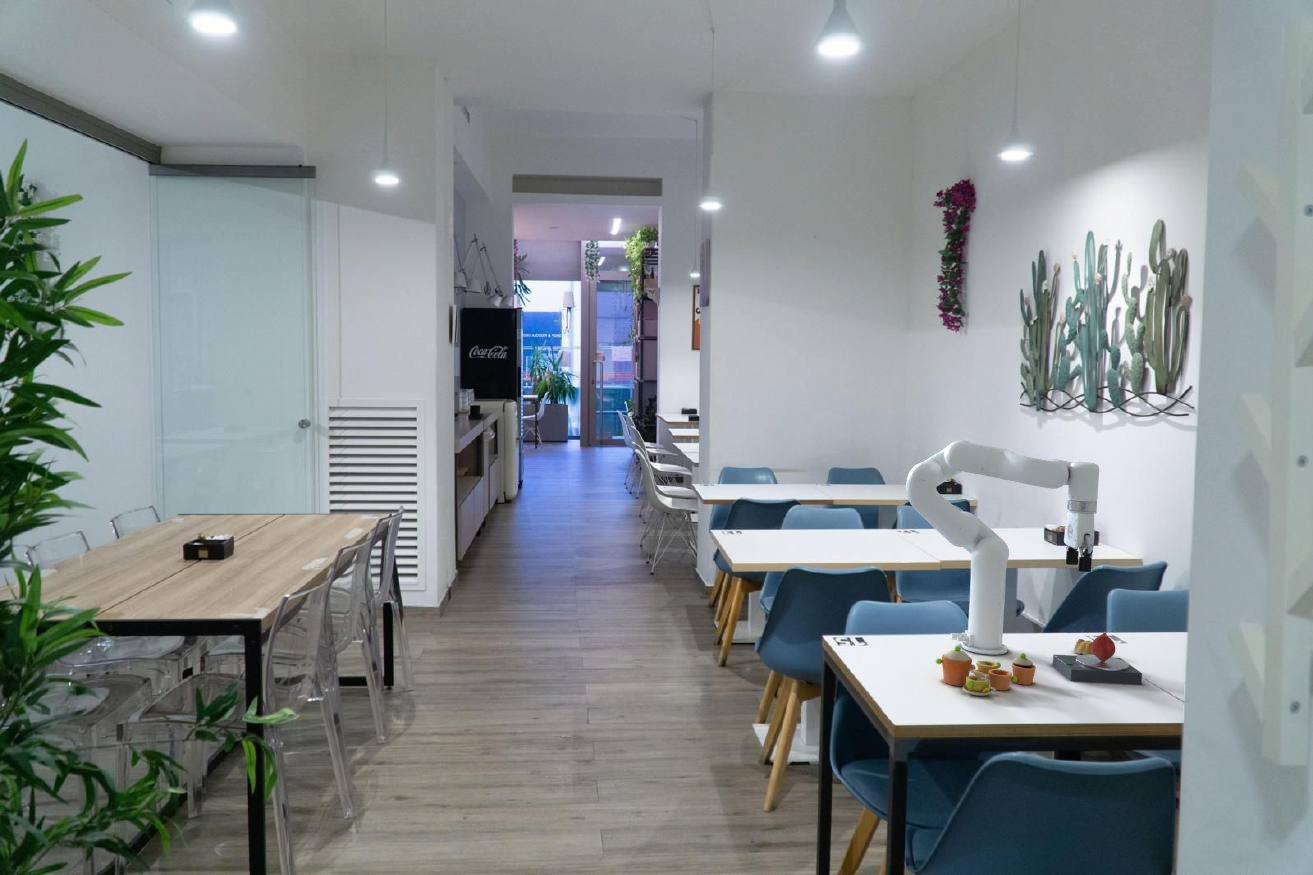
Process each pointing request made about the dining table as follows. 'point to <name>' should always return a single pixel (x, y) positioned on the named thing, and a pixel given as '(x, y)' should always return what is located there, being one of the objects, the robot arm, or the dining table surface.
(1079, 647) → the pastry
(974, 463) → the robot arm
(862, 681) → the dining table surface
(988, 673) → the toy tea set
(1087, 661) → the scale pan
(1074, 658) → the scale
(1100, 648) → the onion
